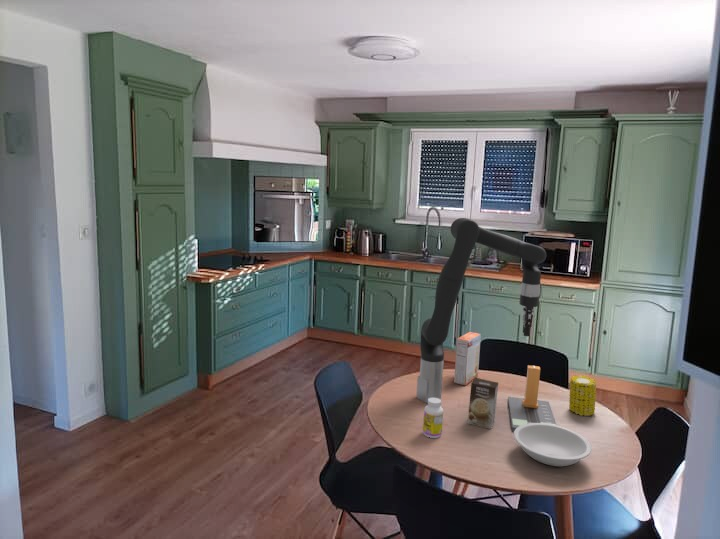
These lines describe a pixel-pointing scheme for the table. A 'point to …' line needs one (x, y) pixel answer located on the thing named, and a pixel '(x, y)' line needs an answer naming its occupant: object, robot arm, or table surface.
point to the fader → (532, 387)
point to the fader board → (529, 413)
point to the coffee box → (482, 403)
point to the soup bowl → (552, 443)
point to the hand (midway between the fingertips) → (525, 334)
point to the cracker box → (467, 358)
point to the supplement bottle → (433, 418)
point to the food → (582, 395)
